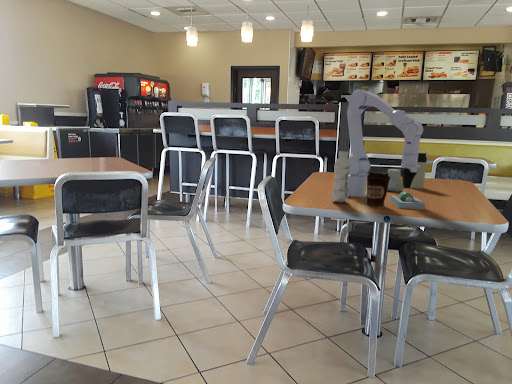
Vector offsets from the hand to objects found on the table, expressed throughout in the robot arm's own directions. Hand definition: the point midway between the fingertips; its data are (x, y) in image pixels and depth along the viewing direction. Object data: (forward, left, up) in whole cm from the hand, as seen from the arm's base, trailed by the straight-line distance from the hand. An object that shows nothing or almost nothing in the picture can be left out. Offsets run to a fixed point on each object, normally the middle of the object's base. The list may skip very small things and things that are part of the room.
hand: (406, 188), depth 157 cm
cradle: (0, -2, -6) cm, 7 cm away
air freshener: (+2, +30, -7) cm, 31 cm away
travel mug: (+16, +43, -7) cm, 46 cm away
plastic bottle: (-26, -4, -7) cm, 27 cm away
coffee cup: (-13, -8, -7) cm, 16 cm away
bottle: (0, +3, -4) cm, 5 cm away
